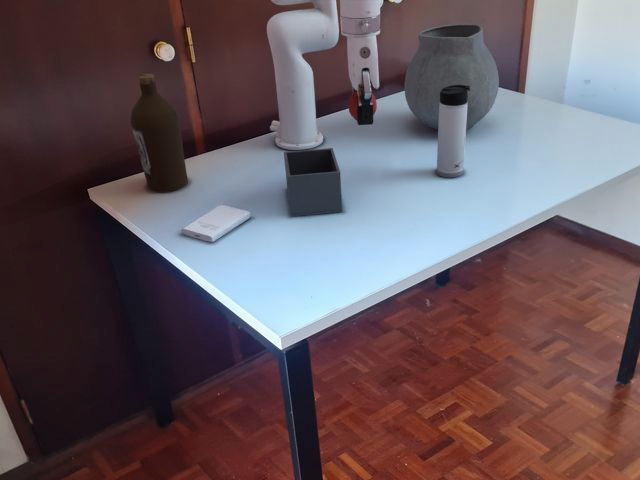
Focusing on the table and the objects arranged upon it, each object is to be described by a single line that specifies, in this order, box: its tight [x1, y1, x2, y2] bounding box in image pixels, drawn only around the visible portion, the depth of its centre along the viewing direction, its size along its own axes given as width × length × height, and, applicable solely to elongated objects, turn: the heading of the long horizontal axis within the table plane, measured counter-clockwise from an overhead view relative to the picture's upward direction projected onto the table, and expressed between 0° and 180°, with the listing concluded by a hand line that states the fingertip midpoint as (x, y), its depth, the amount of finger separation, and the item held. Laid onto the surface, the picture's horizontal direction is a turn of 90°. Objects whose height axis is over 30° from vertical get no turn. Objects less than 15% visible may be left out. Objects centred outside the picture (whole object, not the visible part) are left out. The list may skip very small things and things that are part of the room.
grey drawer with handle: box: [283, 147, 343, 217], centre depth 157 cm, size 19×11×9 cm, turn 8°
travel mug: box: [436, 85, 470, 179], centre depth 161 cm, size 6×7×20 cm
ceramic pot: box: [404, 23, 500, 130], centre depth 185 cm, size 24×24×25 cm
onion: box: [348, 86, 378, 121], centre depth 144 cm, size 6×6×8 cm
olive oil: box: [130, 73, 189, 193], centre depth 160 cm, size 11×11×25 cm
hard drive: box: [181, 204, 251, 243], centre depth 149 cm, size 2×8×12 cm
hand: (362, 117), depth 146 cm, fingers closed on onion, 6 cm apart
